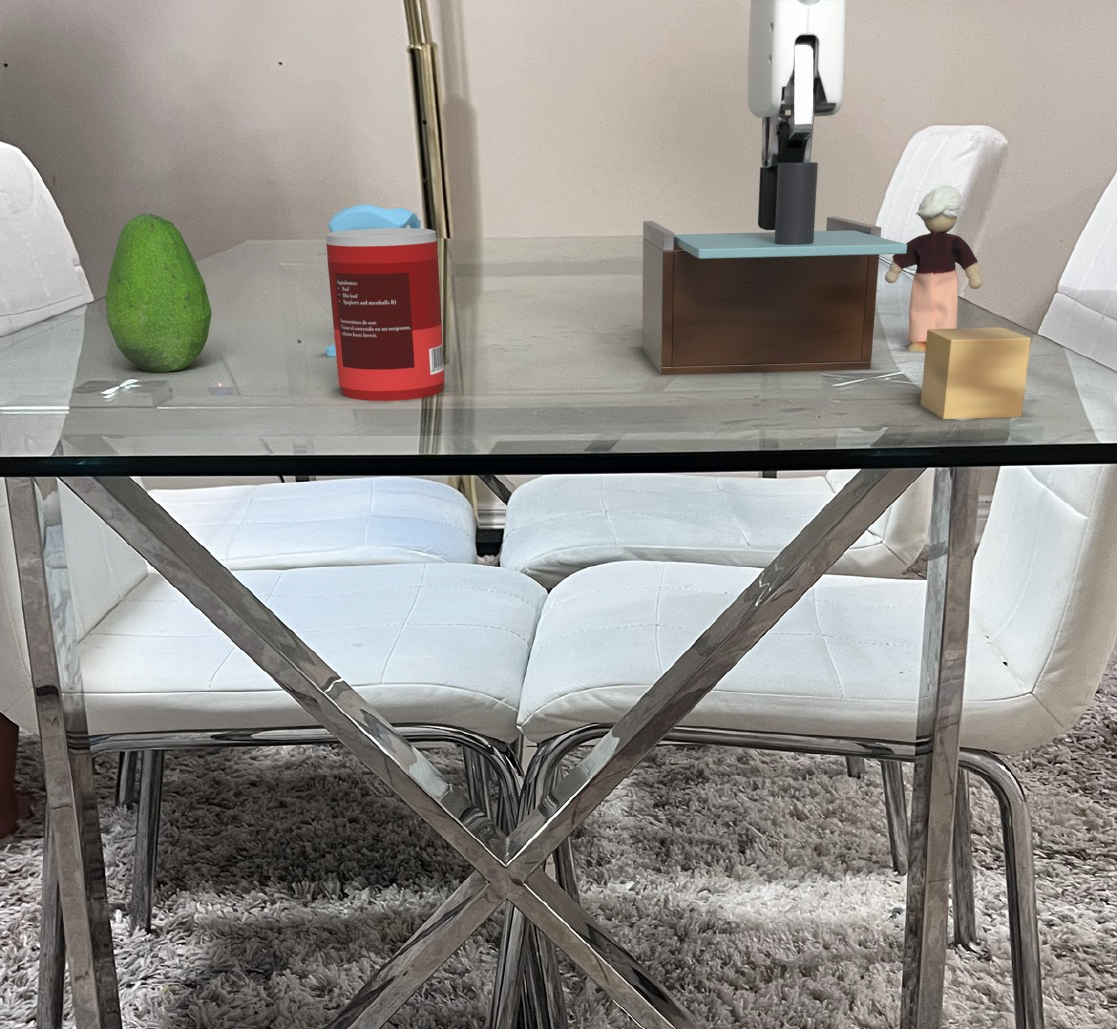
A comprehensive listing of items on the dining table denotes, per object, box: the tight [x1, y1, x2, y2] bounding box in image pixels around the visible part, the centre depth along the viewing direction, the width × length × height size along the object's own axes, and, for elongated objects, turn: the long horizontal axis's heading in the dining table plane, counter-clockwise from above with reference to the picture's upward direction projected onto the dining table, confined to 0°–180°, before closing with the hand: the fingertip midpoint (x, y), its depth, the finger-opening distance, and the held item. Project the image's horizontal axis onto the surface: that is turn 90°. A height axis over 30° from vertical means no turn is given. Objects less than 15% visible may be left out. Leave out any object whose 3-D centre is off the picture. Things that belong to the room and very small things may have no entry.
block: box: [920, 326, 1032, 420], centre depth 85 cm, size 5×5×5 cm
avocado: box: [104, 212, 213, 374], centre depth 105 cm, size 8×8×12 cm
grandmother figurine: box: [884, 184, 983, 353], centre depth 107 cm, size 8×4×13 cm, turn 72°
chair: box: [325, 204, 422, 357], centre depth 113 cm, size 8×8×12 cm
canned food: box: [325, 227, 445, 402], centre depth 94 cm, size 8×8×11 cm
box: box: [641, 216, 882, 376], centre depth 106 cm, size 16×14×10 cm
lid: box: [674, 161, 907, 259], centre depth 93 cm, size 14×14×6 cm
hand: (782, 228), depth 94 cm, fingers closed
